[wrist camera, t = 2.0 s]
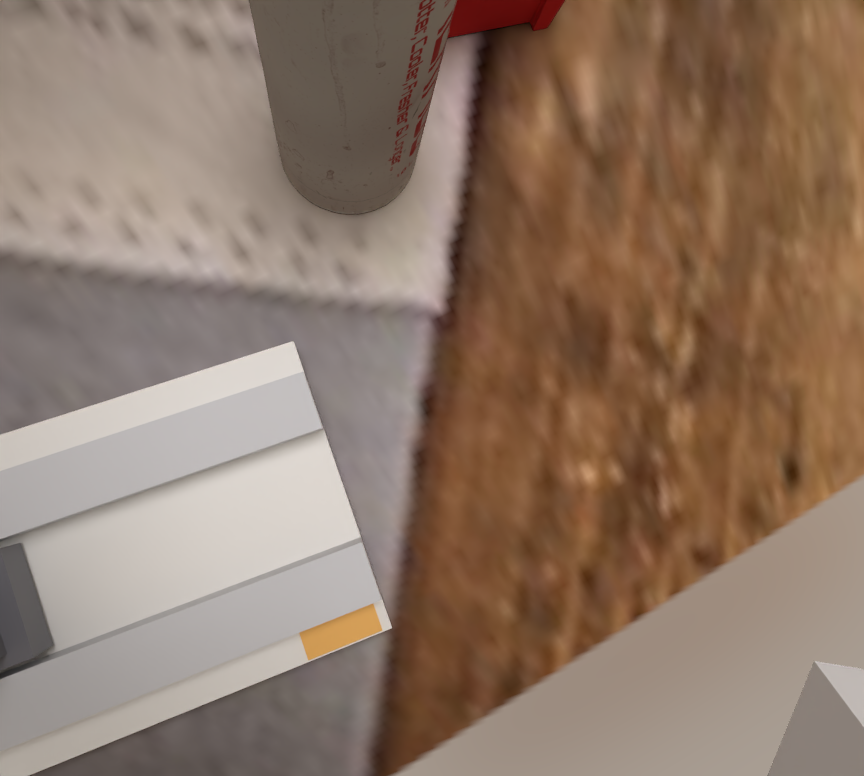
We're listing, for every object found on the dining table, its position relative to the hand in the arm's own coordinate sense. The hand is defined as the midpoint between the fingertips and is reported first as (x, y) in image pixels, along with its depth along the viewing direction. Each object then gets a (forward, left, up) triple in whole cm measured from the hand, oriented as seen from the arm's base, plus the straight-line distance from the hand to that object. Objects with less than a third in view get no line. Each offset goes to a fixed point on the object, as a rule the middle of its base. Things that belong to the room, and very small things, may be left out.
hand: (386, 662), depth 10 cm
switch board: (-9, -8, -26) cm, 29 cm away
